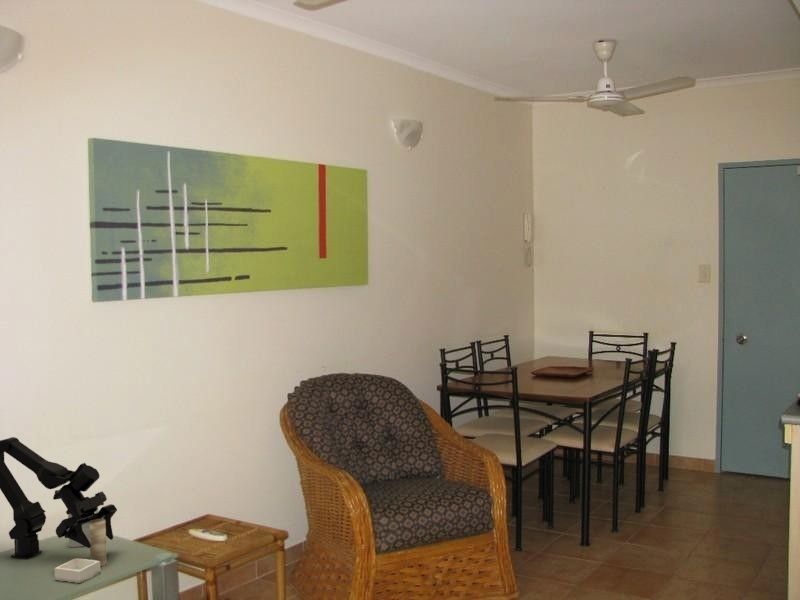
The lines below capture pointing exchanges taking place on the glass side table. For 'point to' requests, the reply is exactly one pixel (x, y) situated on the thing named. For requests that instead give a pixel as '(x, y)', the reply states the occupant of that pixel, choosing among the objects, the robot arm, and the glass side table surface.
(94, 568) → the white square tray
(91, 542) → the tan rounded rod
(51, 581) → the glass side table surface
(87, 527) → the small box
